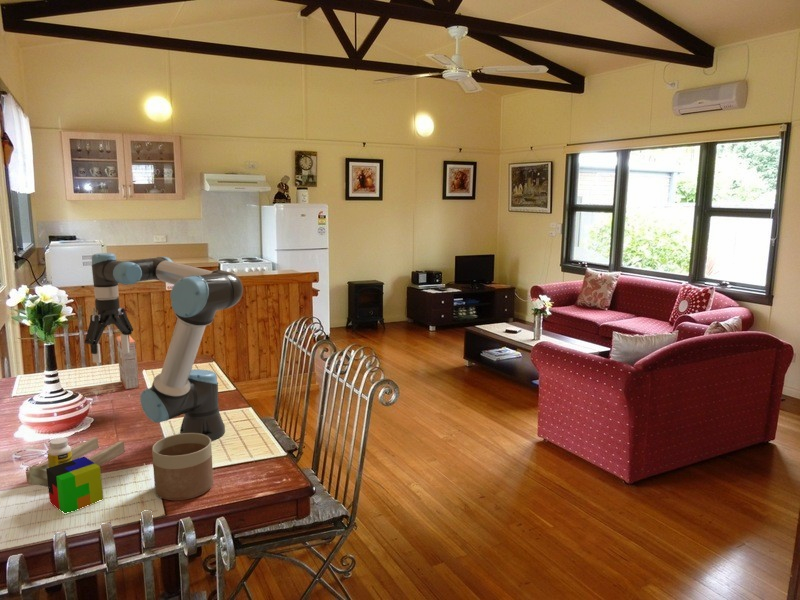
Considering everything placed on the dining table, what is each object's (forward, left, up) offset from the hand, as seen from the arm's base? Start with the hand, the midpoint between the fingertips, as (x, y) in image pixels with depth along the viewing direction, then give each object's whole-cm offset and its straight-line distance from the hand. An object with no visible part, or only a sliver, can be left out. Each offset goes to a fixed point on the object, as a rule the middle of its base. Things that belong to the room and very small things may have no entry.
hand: (111, 357), depth 209 cm
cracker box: (+31, -42, -27) cm, 59 cm away
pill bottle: (-10, +34, -27) cm, 44 cm away
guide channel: (-10, +28, -27) cm, 40 cm away
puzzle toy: (-26, +45, -27) cm, 59 cm away
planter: (-50, +30, -27) cm, 64 cm away
